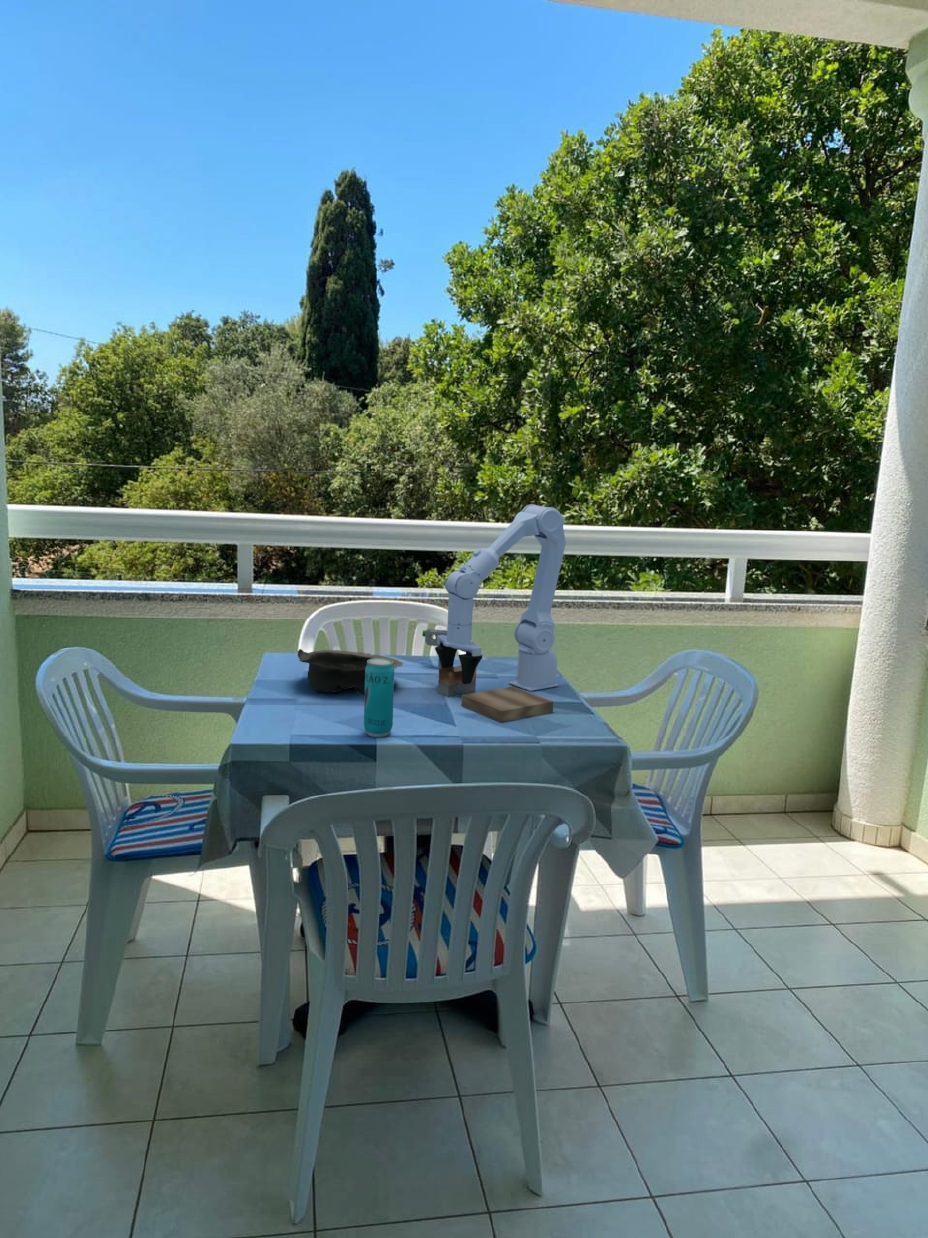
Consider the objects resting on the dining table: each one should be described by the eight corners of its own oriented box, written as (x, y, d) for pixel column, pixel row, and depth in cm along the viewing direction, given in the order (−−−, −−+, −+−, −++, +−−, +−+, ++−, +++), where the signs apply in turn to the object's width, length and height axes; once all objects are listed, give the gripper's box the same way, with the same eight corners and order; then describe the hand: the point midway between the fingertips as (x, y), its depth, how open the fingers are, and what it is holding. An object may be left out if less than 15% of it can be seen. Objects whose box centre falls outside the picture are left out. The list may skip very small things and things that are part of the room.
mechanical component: (459, 671, 234) (460, 634, 232) (420, 668, 236) (421, 630, 234) (461, 669, 237) (463, 631, 235) (423, 665, 238) (424, 628, 236)
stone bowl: (289, 699, 203) (290, 658, 202) (305, 678, 228) (305, 641, 227) (400, 701, 204) (401, 660, 203) (404, 680, 229) (404, 643, 228)
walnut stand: (512, 696, 213) (512, 686, 213) (552, 712, 203) (553, 701, 202) (461, 705, 204) (461, 695, 204) (501, 722, 193) (501, 711, 193)
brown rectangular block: (464, 688, 219) (466, 664, 217) (475, 693, 215) (476, 668, 214) (438, 693, 214) (439, 668, 213) (448, 697, 211) (449, 672, 209)
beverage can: (364, 728, 185) (365, 657, 182) (392, 729, 186) (394, 658, 183) (363, 738, 180) (365, 664, 177) (392, 738, 180) (394, 665, 177)
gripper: (427, 618, 214) (425, 674, 217) (465, 630, 203) (462, 689, 206) (451, 616, 219) (449, 671, 221) (489, 627, 208) (486, 685, 210)
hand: (457, 679), depth 214 cm, fingers open, 7 cm apart
